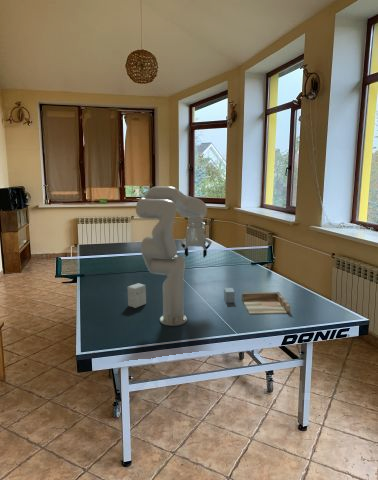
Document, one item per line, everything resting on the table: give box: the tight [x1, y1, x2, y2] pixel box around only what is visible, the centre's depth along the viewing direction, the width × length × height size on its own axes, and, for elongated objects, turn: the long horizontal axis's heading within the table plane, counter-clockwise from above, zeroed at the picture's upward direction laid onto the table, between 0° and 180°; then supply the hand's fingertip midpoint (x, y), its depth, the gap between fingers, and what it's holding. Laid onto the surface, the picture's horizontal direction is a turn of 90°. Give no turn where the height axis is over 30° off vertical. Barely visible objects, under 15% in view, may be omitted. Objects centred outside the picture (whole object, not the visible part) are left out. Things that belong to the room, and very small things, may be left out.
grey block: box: [223, 287, 235, 304], centre depth 202 cm, size 7×4×6 cm, turn 2°
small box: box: [126, 282, 147, 309], centre depth 196 cm, size 8×6×10 cm
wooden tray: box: [241, 291, 291, 315], centre depth 193 cm, size 20×20×4 cm
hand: (195, 256), depth 200 cm, fingers open, 9 cm apart
